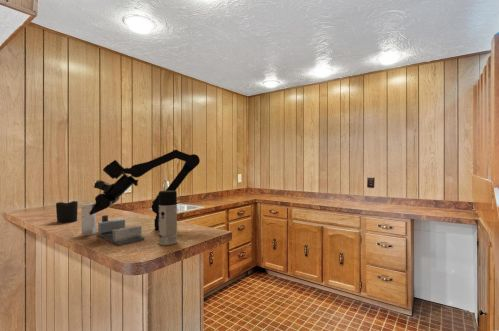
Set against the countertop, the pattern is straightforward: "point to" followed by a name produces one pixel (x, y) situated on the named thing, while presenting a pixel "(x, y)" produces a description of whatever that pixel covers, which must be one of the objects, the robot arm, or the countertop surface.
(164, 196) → the spray can
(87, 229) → the steel block
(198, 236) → the countertop surface
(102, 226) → the sliding jaw
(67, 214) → the pen holder
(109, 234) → the vise base
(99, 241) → the countertop surface
